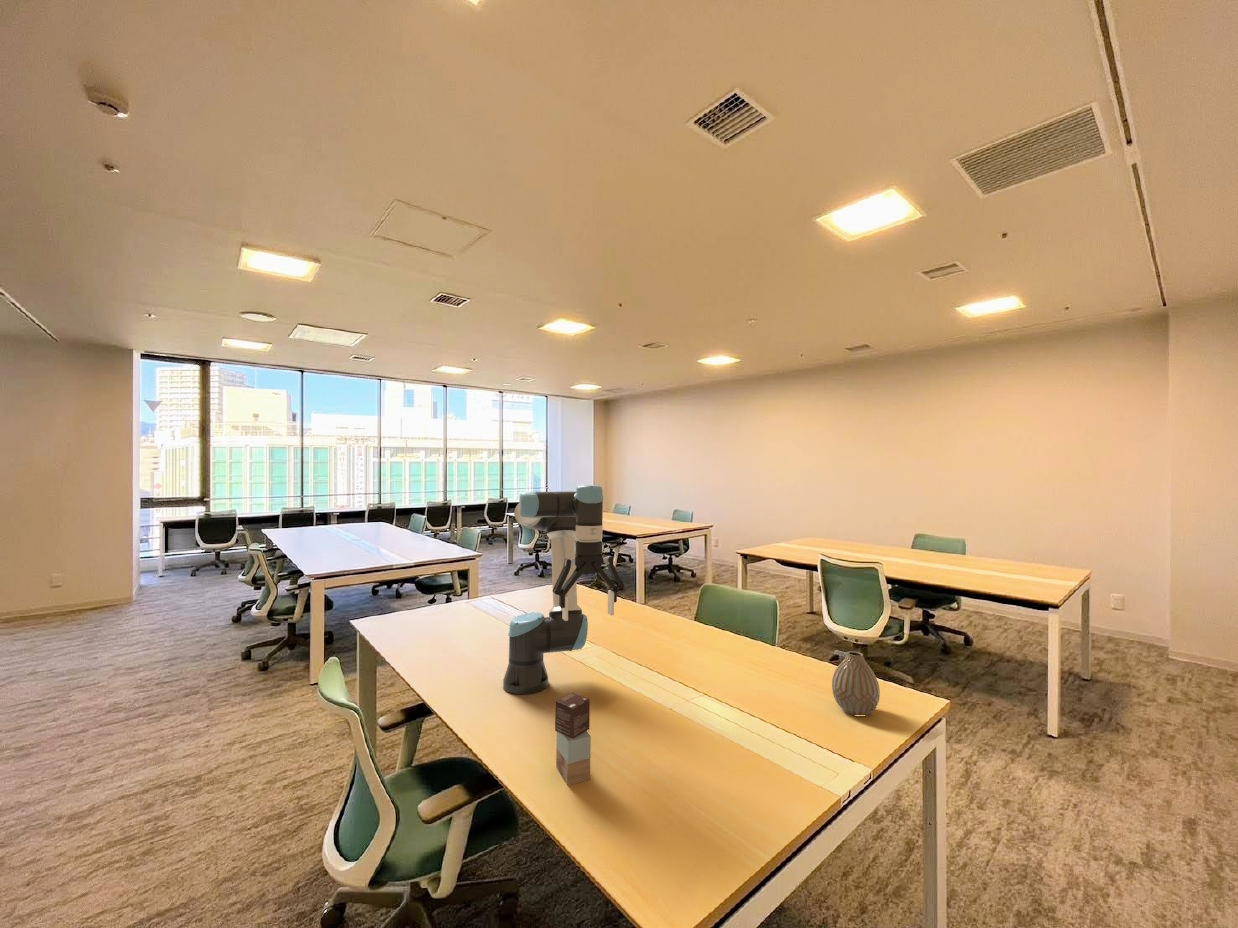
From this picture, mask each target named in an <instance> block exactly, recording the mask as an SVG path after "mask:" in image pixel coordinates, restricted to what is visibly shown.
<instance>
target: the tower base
mask: <svg viewBox="0 0 1238 928" xmlns="http://www.w3.org/2000/svg"><path fill="white" fill-rule="evenodd" d="M555 750H556V751H555V752H556V753H555V755H556V756H555V758H556V759H555V763H556V765H555V767H556V769H557V771H558V772H559V775H560V776H561V777H562V779H563V780H564V783H565V784H566V785H567V786H571V785H574V784H578V783H582V782H585V781H589V780H591V758H588V759H585V760H581V761H577V762H573V763H570V764H568V763H567V762H566V760H565V759H564V757H563V756H562V754H561V753H560V751H559V750H558V748H557V747H556V749H555Z"/></svg>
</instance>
